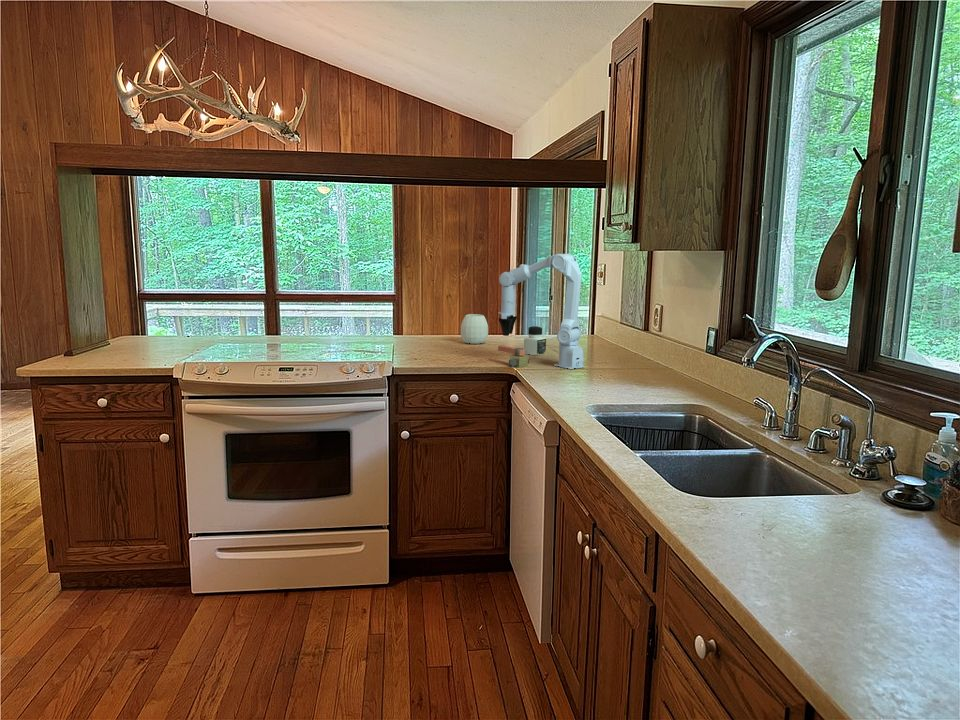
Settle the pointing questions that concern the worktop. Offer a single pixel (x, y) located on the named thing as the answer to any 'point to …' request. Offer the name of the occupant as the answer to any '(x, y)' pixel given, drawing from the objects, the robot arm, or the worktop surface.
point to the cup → (474, 329)
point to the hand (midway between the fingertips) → (507, 334)
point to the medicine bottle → (535, 341)
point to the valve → (518, 361)
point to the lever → (511, 350)
